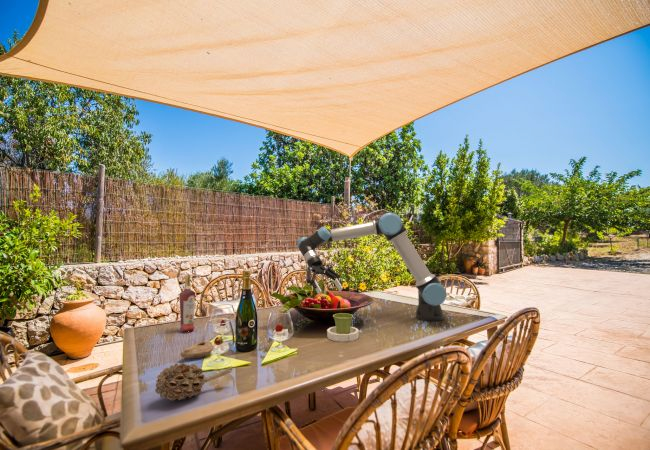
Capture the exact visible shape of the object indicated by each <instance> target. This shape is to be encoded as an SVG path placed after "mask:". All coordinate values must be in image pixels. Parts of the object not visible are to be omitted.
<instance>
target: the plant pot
mask: <svg viewBox="0 0 650 450" xmlns="http://www.w3.org/2000/svg"><path fill="white" fill-rule="evenodd" d="M332 317H333V319H334V323H335V326H336V333H337V334H350V328H351V327H352V321H353V318H354V315H353V314H351V313H348V312H347V313H345V312H344V313H343V312H339V313H335V314H333V315H332Z"/></svg>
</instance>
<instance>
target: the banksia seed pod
mask: <svg viewBox="0 0 650 450" xmlns="http://www.w3.org/2000/svg"><path fill="white" fill-rule="evenodd" d="M233 369H235V367H233V366H232V365H231V366H228V367H227V368H226V369H224V370H222V371H220V372H218V373H215V374H213V375H209V376H205V374H203V369H202V367H200V366H198V365H197V364H196V363H192V364H188V363H185V362H180V363H179V364H178V363H175V364H174V365H170V366H169V367H165V368H163V369H162V370H161V371H160V372H159V374H157V376H156V378H157V379H156V380H155V387H156V388H155V389H154V391H155V393H156V394H157V395H159V397H160V398H164V399H168V400H170V401H172V402H173V401H176V400H178V401H180V400H185V399H186V398H187V397H188V398H190V399H191V398H192V397H193V396H198V394H199V393H201V391H202V389H203V386H204V385H205V383H208V382H211V381H214V380H217V379H218V378H221V377H223V376H225V375H228V374H230V373H233Z"/></svg>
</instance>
